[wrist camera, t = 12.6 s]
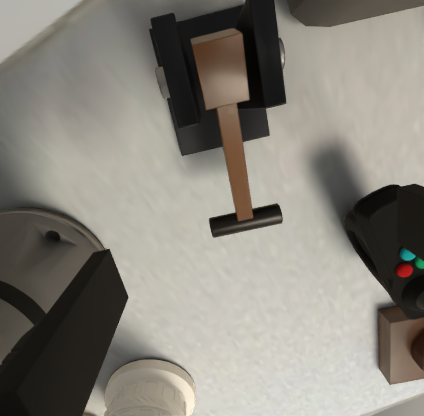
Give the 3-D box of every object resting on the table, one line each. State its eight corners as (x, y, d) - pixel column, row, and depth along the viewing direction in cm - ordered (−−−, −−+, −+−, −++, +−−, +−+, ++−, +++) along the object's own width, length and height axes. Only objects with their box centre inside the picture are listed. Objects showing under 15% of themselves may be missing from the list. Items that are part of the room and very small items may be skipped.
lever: (275, 210, 20) (285, 231, 19) (211, 224, 21) (214, 246, 19) (262, 20, 13) (275, 23, 11) (162, 45, 13) (159, 53, 11)
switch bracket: (266, 134, 25) (325, 157, 13) (183, 154, 25) (163, 193, 13) (248, 8, 22) (303, -120, 10) (151, 33, 22) (87, -60, 10)
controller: (359, 274, 30) (428, 348, 21) (315, 184, 27) (374, 225, 17) (396, 256, 30) (484, 324, 20) (355, 162, 26) (441, 191, 17)
